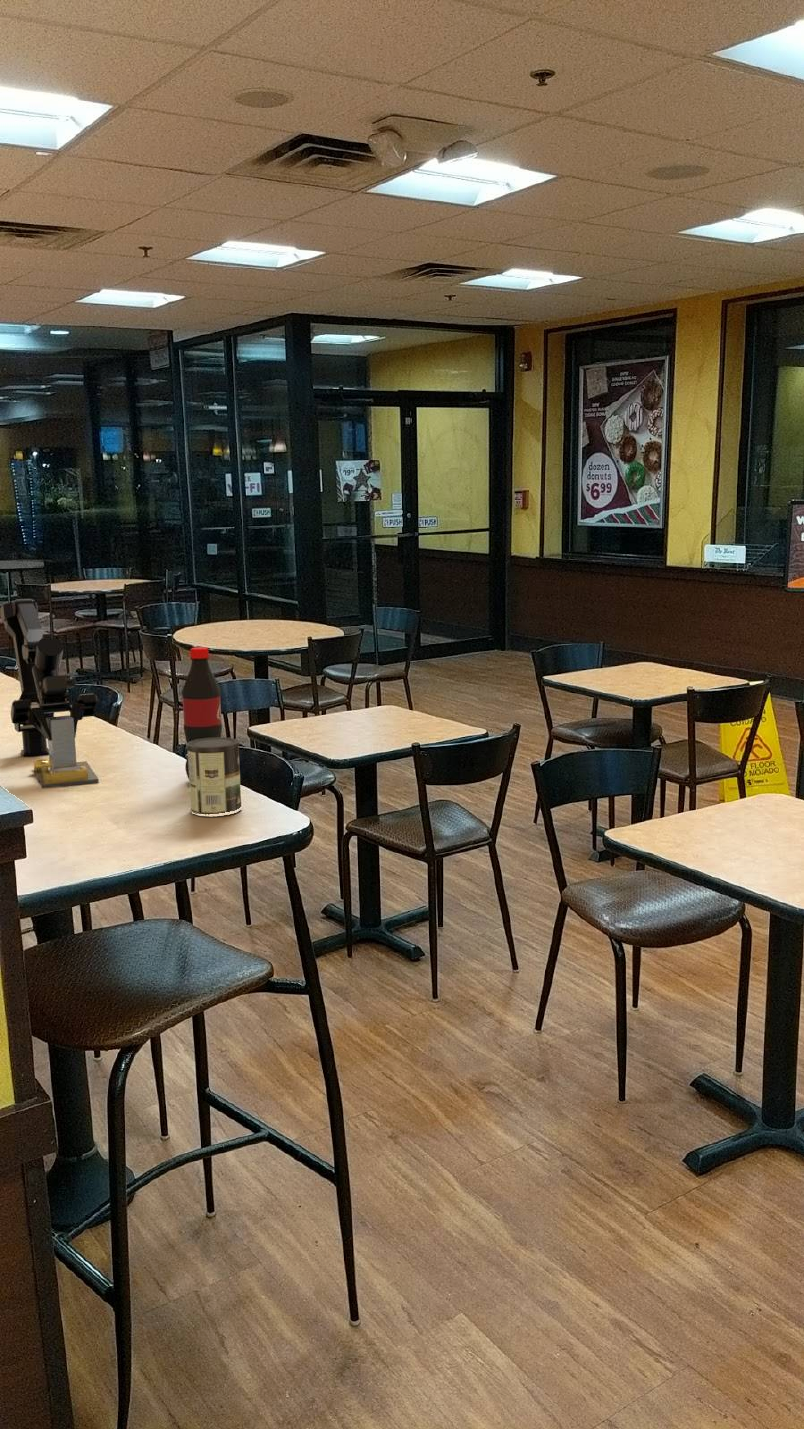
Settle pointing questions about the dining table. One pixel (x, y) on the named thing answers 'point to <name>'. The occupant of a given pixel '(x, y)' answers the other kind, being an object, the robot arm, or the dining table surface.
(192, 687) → the cola bottle
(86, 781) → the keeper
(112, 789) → the dining table surface
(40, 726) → the robot arm
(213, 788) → the coffee can
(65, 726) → the link block
